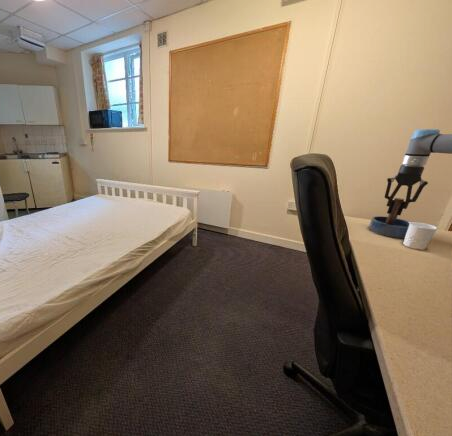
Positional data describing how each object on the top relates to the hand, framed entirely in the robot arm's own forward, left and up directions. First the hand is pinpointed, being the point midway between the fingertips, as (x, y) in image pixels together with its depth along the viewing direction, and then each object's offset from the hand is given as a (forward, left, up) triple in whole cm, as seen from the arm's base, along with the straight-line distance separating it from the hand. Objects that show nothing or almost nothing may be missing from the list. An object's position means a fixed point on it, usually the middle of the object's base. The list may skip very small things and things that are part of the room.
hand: (393, 213), depth 108 cm
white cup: (-9, +13, -10) cm, 19 cm away
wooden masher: (0, 0, -8) cm, 8 cm away
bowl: (-1, 0, -10) cm, 10 cm away
